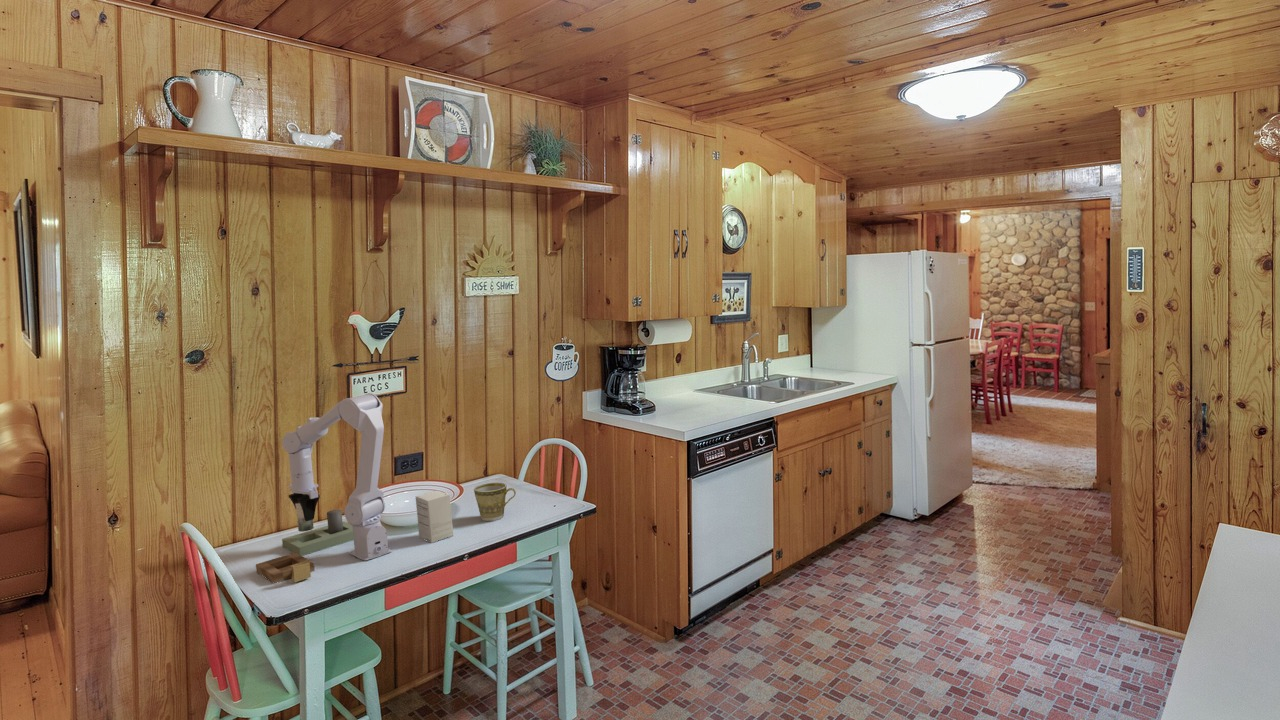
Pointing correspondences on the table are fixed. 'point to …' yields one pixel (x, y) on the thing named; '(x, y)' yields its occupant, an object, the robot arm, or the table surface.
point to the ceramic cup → (491, 500)
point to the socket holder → (281, 567)
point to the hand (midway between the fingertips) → (306, 518)
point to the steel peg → (302, 519)
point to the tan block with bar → (300, 571)
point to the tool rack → (321, 536)
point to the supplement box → (434, 516)
